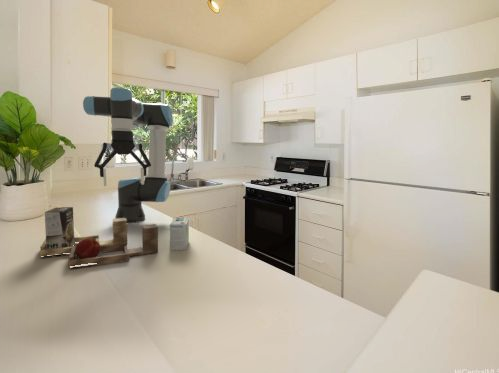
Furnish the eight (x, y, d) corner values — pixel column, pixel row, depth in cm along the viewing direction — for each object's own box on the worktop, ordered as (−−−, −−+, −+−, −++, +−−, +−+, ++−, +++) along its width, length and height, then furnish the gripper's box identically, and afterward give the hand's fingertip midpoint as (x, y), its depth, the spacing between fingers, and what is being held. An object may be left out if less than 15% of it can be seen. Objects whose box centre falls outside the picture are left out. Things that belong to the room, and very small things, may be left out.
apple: (92, 265, 95) (91, 242, 94) (70, 264, 95) (68, 241, 94) (104, 256, 102) (103, 235, 101) (83, 255, 102) (82, 234, 101)
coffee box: (65, 254, 103) (63, 211, 101) (46, 255, 101) (43, 211, 99) (75, 246, 112) (73, 206, 110) (57, 246, 110) (55, 206, 108)
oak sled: (40, 257, 98) (38, 230, 97) (47, 245, 110) (45, 221, 109) (128, 247, 111) (127, 223, 110) (125, 237, 123) (125, 215, 122)
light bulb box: (173, 241, 121) (173, 217, 120) (189, 241, 122) (189, 217, 121) (169, 250, 111) (169, 224, 110) (186, 250, 112) (186, 224, 110)
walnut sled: (69, 268, 90) (67, 239, 89) (73, 254, 102) (71, 228, 101) (159, 256, 104) (159, 230, 102) (154, 244, 115) (153, 221, 114)
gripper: (154, 132, 116) (154, 182, 120) (85, 128, 104) (88, 184, 107) (157, 131, 110) (158, 184, 113) (84, 128, 98) (88, 187, 101)
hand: (124, 184), depth 110 cm, fingers open, 13 cm apart
